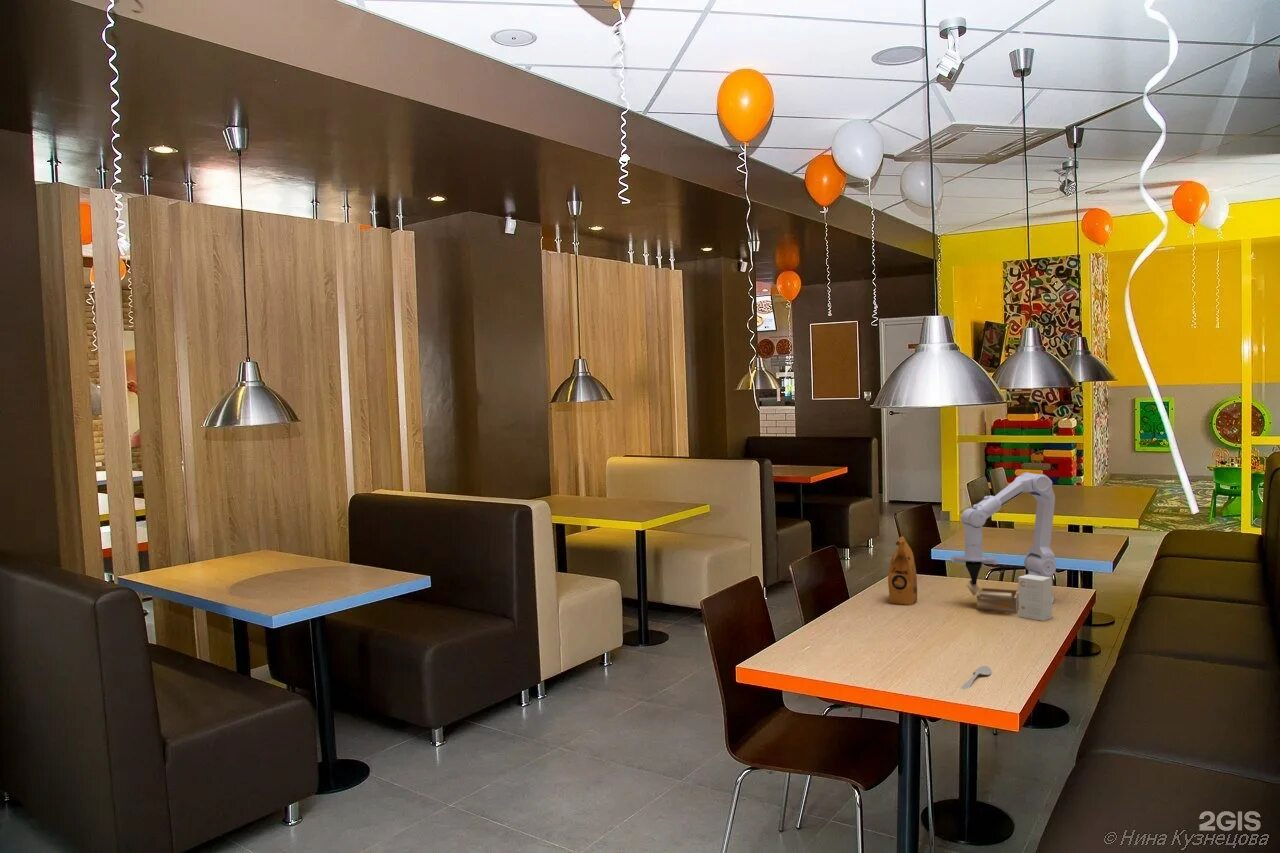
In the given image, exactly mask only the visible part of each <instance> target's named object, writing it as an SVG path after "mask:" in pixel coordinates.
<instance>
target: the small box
mask: <svg viewBox="0 0 1280 853" xmlns="http://www.w3.org/2000/svg"><path fill="white" fill-rule="evenodd" d="M1017 582H1018V584H1017V585H1018V586H1017V587H1018V589H1017V590H1018V592H1019V607H1018V617H1019V618H1023V617H1024V618H1025V619H1030V620H1037V621H1039V622H1041V621H1042V622H1045V621H1047V620H1049V619H1052V618H1053V604H1052V596H1053V581H1052V582H1051V577H1044V576H1036V575H1029V573H1027V574H1024V575H1020V576H1017Z"/></svg>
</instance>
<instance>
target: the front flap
mask: <svg viewBox="0 0 1280 853" xmlns="http://www.w3.org/2000/svg"><path fill="white" fill-rule="evenodd" d="M979 591H980V590H979ZM980 597H981V599H992V600H1005V601H1012V594H1011V593H1004V592H990V591H980Z"/></svg>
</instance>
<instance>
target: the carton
mask: <svg viewBox="0 0 1280 853" xmlns="http://www.w3.org/2000/svg"><path fill="white" fill-rule="evenodd" d="M980 591H990V592H1004V593H1011V594H1012V601H1005V600H992V599H981V597H980ZM1017 609H1018V610H1019V592H1018V589H1016V590H1015V589H1004V588H1003V589H1001V588H990V587H980V590H979V591H978V593H977V594H976V611H981V610H984V611H983V612H993V611H996V613H1005V612H1008V614H1017V612H1018V610H1017ZM997 611H998V612H997ZM1009 612H1010V613H1009Z"/></svg>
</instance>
